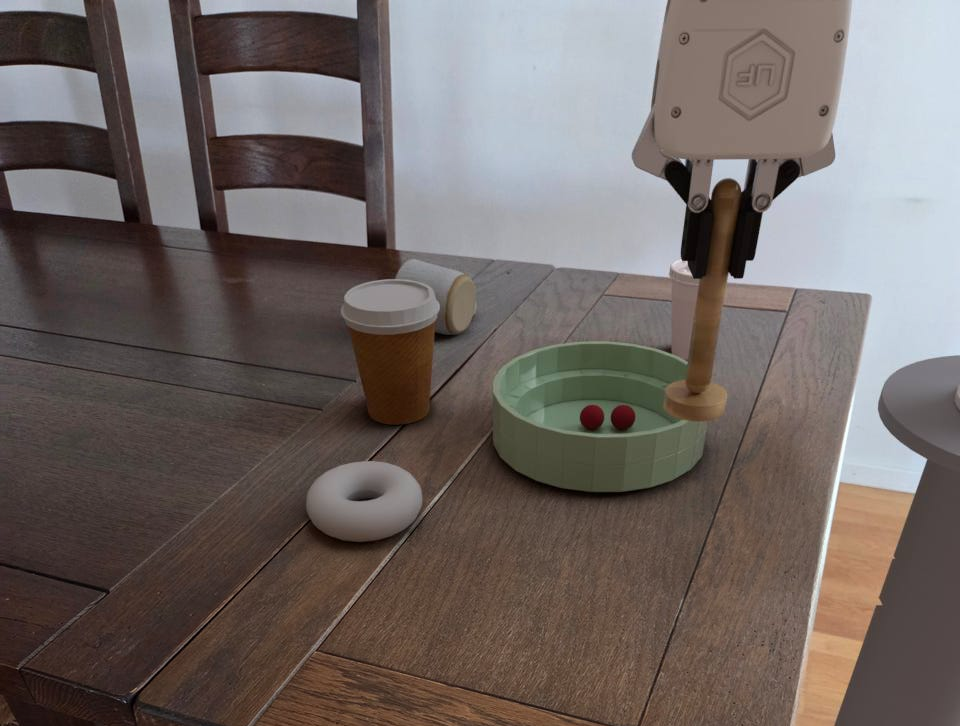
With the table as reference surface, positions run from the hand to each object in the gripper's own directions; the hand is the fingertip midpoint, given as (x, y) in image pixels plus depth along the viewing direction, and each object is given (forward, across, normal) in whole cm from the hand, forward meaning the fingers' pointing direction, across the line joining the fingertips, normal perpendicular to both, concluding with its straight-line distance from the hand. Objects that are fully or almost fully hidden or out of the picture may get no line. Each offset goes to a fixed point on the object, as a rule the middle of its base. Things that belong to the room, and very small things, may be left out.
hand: (714, 269), depth 58 cm
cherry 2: (+20, -2, +20) cm, 28 cm away
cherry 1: (+20, -5, +20) cm, 29 cm away
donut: (+23, -26, +5) cm, 35 cm away
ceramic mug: (+22, -22, +48) cm, 57 cm away
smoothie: (+22, +7, +39) cm, 45 cm away
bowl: (+22, -5, +18) cm, 29 cm away
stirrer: (+10, 0, 0) cm, 10 cm away
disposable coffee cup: (+22, -25, +25) cm, 42 cm away
